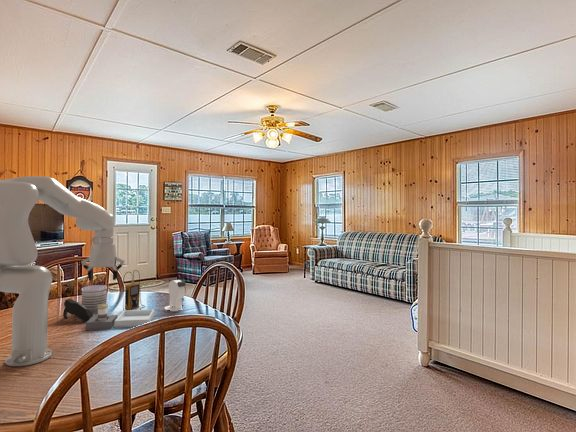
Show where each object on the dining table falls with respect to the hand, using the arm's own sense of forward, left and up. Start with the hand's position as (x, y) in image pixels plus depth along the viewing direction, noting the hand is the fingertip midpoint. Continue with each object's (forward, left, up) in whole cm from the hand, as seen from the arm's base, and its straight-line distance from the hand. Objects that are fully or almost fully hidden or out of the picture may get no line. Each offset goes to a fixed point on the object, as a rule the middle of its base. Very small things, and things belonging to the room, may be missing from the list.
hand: (102, 279), depth 149 cm
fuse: (0, 0, -20) cm, 20 cm away
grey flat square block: (0, 0, -20) cm, 20 cm away
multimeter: (+24, -10, -21) cm, 33 cm away
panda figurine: (+24, -29, -20) cm, 43 cm away
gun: (+10, +13, -21) cm, 26 cm away
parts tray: (+4, -13, -20) cm, 25 cm away
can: (+25, +11, -21) cm, 34 cm away
